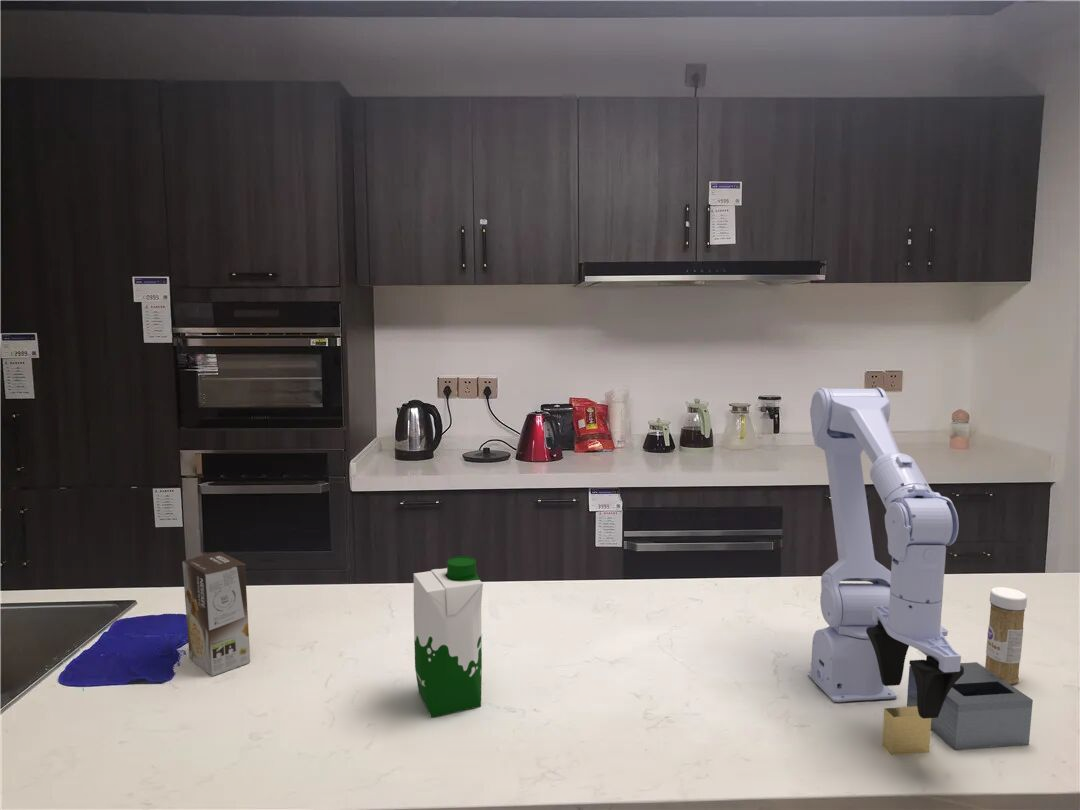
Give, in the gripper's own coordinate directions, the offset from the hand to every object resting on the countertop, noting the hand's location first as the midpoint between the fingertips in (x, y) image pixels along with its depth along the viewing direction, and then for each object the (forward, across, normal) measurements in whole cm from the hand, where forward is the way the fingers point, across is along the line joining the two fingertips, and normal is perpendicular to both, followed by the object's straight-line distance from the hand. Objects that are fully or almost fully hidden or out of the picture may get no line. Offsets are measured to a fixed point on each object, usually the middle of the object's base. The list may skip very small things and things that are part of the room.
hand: (908, 699), depth 91 cm
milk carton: (+7, +18, +57) cm, 60 cm away
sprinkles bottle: (+7, +15, -25) cm, 30 cm away
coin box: (+6, +4, -11) cm, 13 cm away
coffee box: (+7, +34, +93) cm, 99 cm away
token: (+7, 0, 0) cm, 7 cm away
